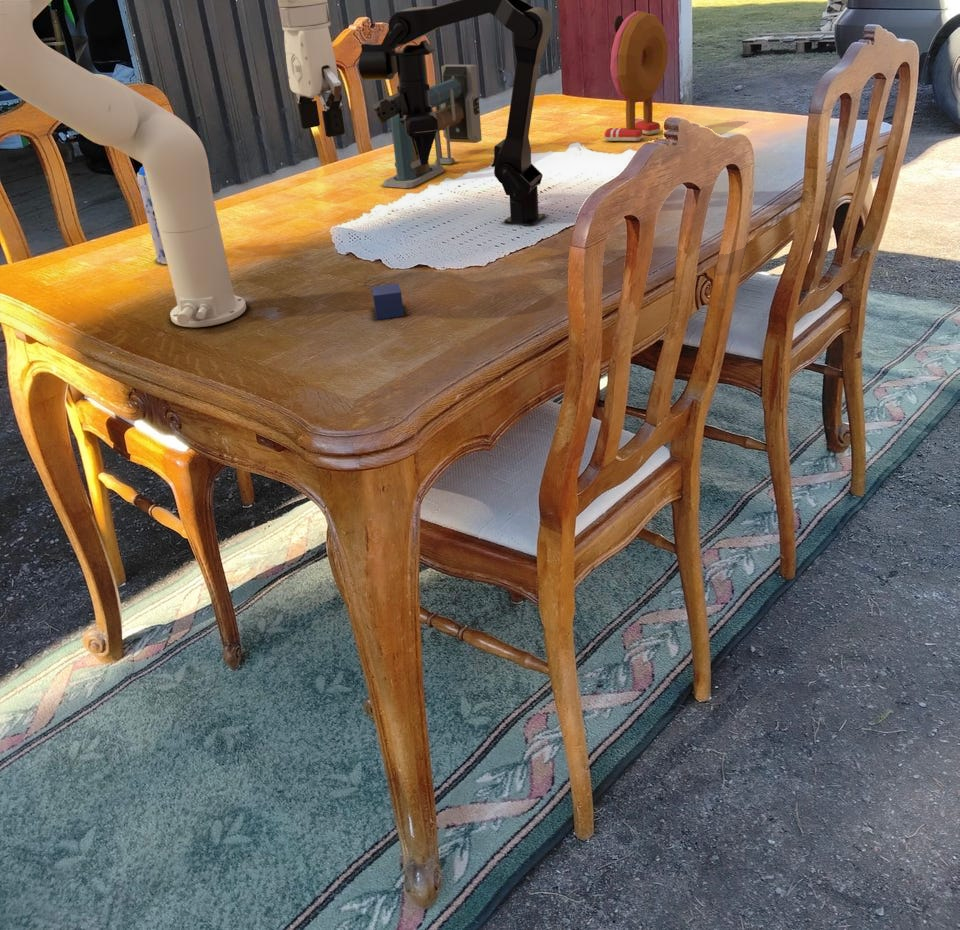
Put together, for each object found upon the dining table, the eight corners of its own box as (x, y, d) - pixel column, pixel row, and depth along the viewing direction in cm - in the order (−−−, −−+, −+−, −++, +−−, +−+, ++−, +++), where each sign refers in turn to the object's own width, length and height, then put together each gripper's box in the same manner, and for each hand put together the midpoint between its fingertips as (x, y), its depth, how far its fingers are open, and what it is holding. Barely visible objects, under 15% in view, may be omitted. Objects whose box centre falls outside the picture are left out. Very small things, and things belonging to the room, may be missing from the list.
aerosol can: (156, 266, 189) (130, 162, 179) (157, 254, 195) (131, 153, 185) (197, 260, 190) (173, 156, 180) (196, 248, 197) (173, 148, 187)
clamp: (411, 188, 225) (400, 91, 214) (380, 186, 229) (368, 91, 218) (482, 152, 251) (476, 64, 240) (453, 150, 255) (446, 64, 244)
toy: (639, 125, 264) (640, 5, 249) (672, 128, 258) (675, 5, 243) (595, 143, 250) (594, 16, 235) (629, 146, 245) (630, 16, 229)
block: (401, 306, 161) (398, 283, 159) (404, 316, 157) (401, 292, 155) (374, 310, 160) (371, 286, 158) (376, 319, 157) (373, 295, 155)
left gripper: (262, 18, 155) (281, 128, 164) (305, 23, 142) (323, 143, 151) (305, 11, 158) (322, 120, 167) (351, 17, 145) (366, 134, 154)
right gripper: (369, 76, 198) (378, 154, 206) (375, 91, 182) (386, 174, 190) (422, 70, 199) (430, 148, 207) (434, 84, 183) (442, 168, 191)
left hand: (323, 131), depth 159 cm, fingers open, 9 cm apart
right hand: (421, 159), depth 199 cm, fingers open, 9 cm apart
